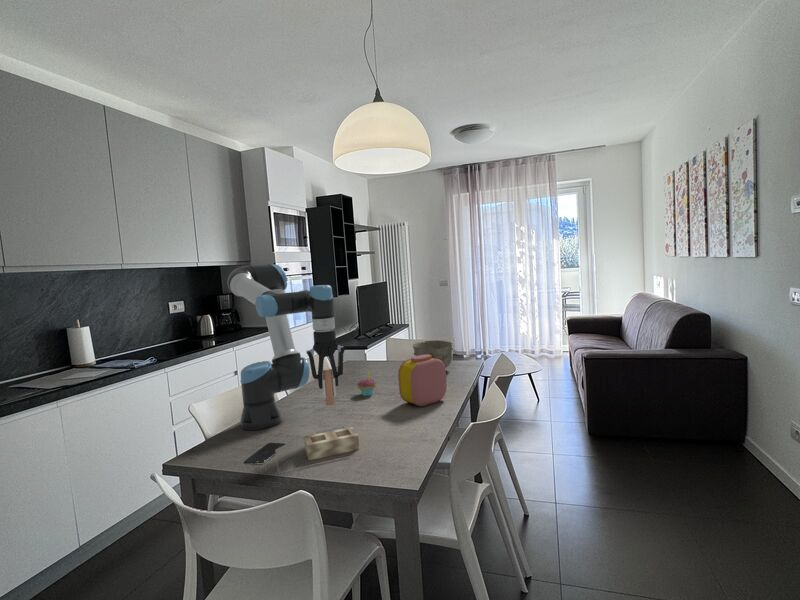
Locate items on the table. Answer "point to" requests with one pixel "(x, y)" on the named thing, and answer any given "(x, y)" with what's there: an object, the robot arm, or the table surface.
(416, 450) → the table surface
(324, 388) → the robot arm
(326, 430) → the mat
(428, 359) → the alarm clock
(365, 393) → the cupcake
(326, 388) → the peg
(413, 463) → the table surface
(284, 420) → the table surface
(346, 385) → the table surface
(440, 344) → the bowl
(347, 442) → the hole block
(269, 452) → the smartphone
